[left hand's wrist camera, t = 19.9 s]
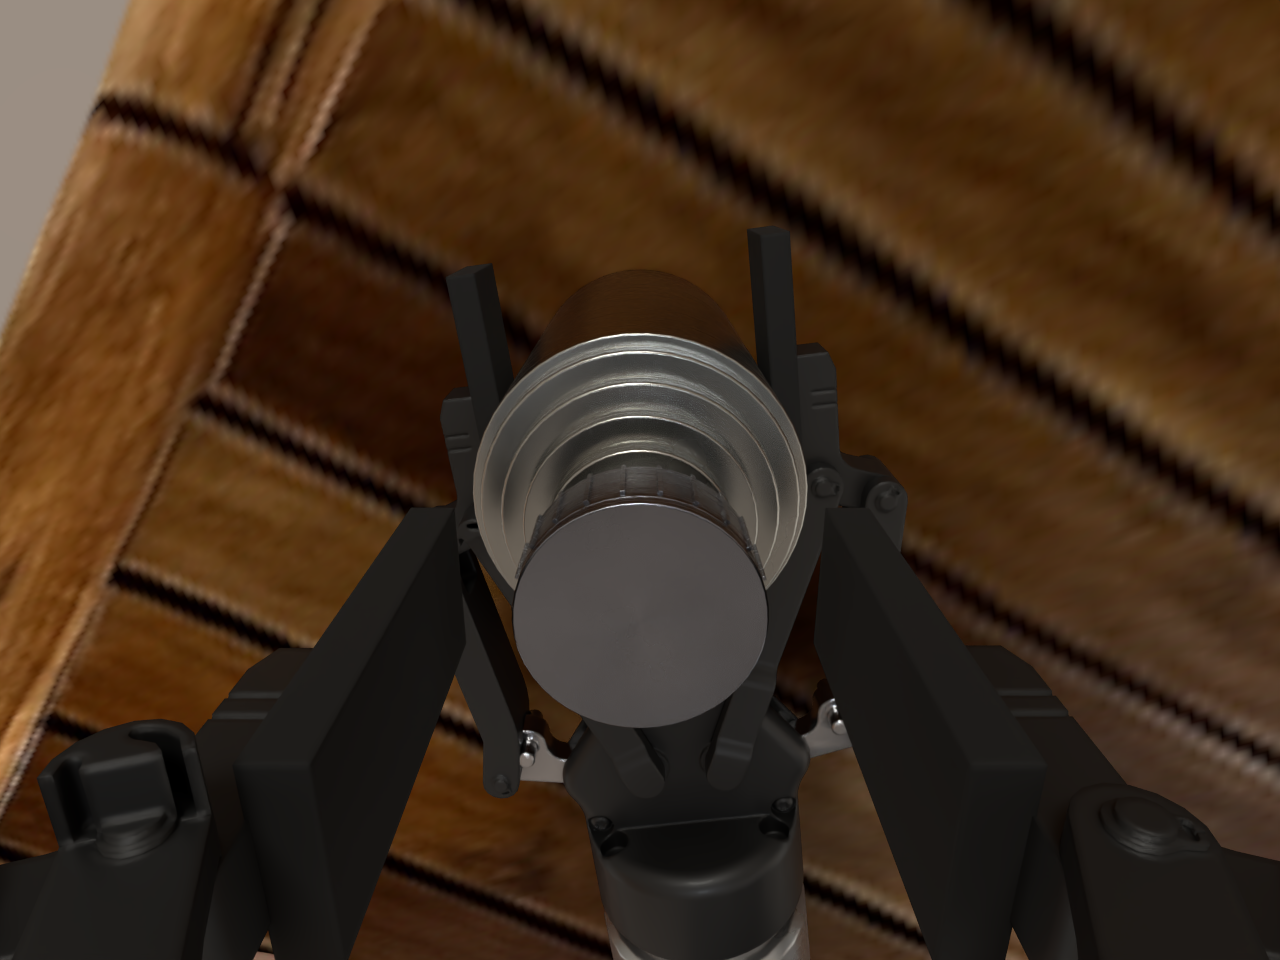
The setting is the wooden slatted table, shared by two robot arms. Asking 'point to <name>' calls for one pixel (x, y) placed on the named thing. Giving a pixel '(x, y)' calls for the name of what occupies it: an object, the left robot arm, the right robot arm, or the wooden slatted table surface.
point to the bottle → (640, 415)
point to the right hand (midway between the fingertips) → (617, 251)
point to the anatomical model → (264, 956)
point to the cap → (640, 598)
